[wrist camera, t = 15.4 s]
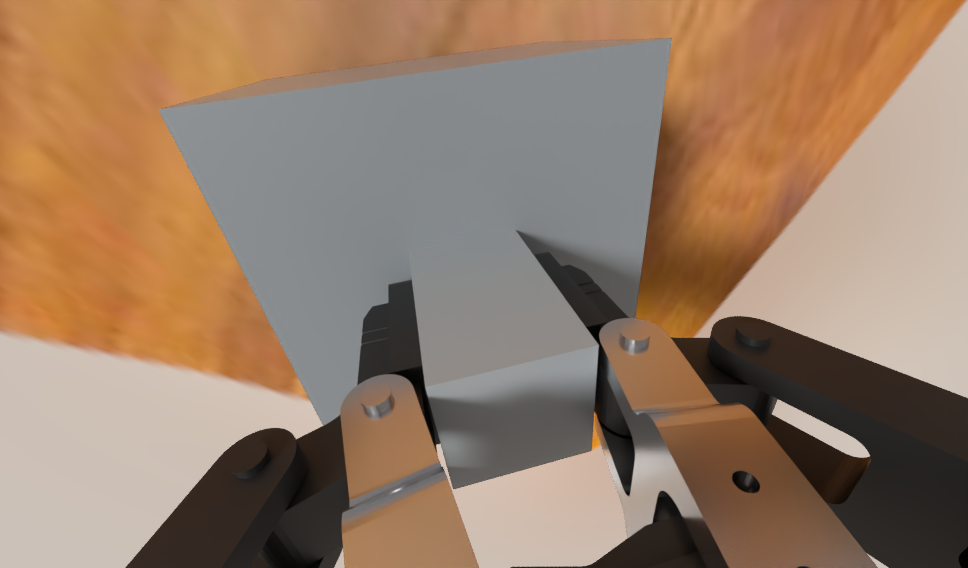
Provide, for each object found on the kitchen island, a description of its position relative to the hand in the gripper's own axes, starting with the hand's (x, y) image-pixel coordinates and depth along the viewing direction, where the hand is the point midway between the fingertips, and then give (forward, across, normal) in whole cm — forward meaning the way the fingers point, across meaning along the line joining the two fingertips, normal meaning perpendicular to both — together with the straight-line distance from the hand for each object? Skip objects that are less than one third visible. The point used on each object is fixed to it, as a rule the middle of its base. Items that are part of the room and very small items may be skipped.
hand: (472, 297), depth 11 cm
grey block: (+9, 0, 0) cm, 9 cm away
